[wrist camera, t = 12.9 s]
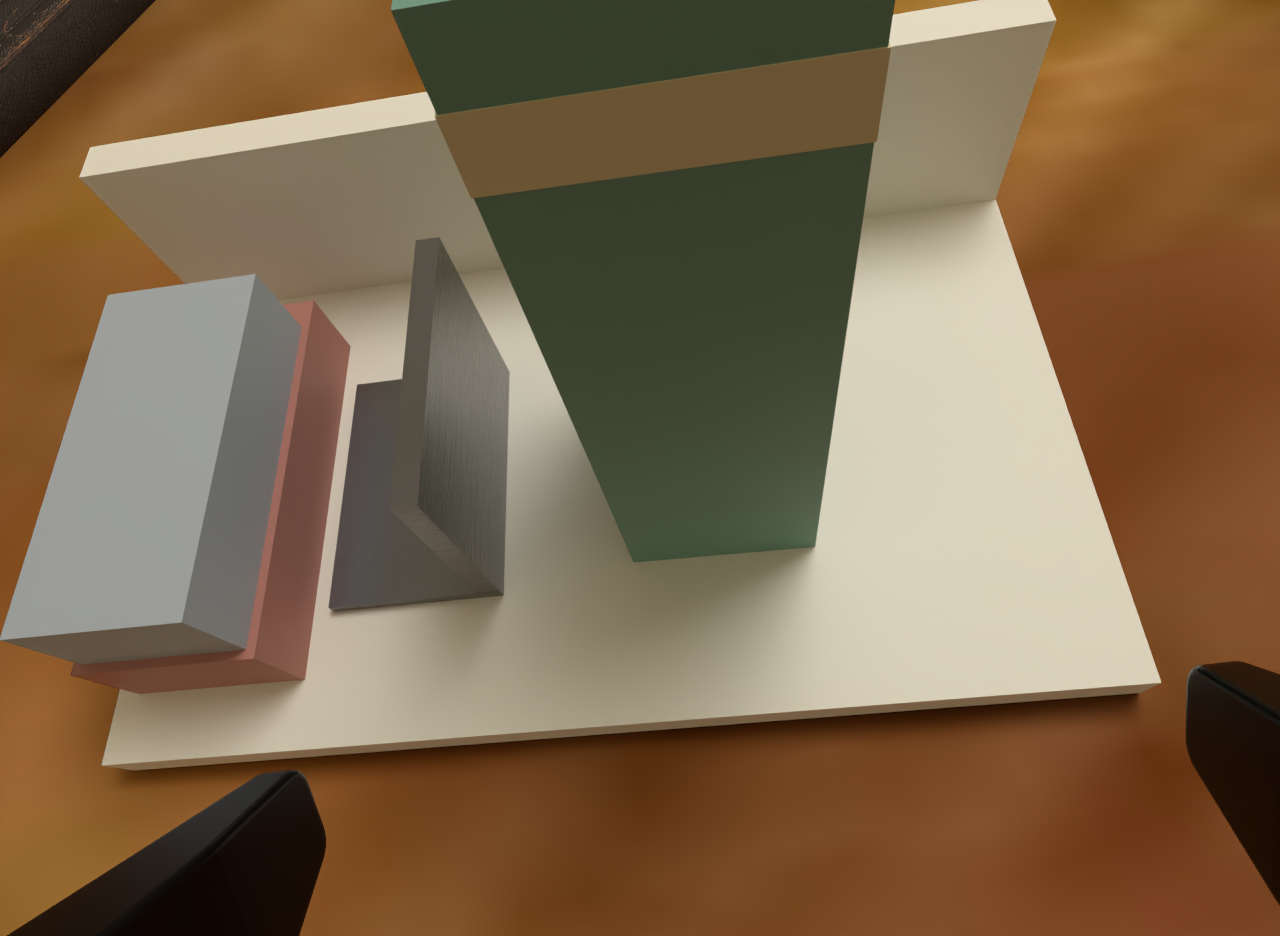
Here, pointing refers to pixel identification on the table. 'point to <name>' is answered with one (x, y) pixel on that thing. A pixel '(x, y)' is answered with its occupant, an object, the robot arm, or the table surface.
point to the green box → (674, 233)
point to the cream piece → (547, 462)
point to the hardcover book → (51, 52)
